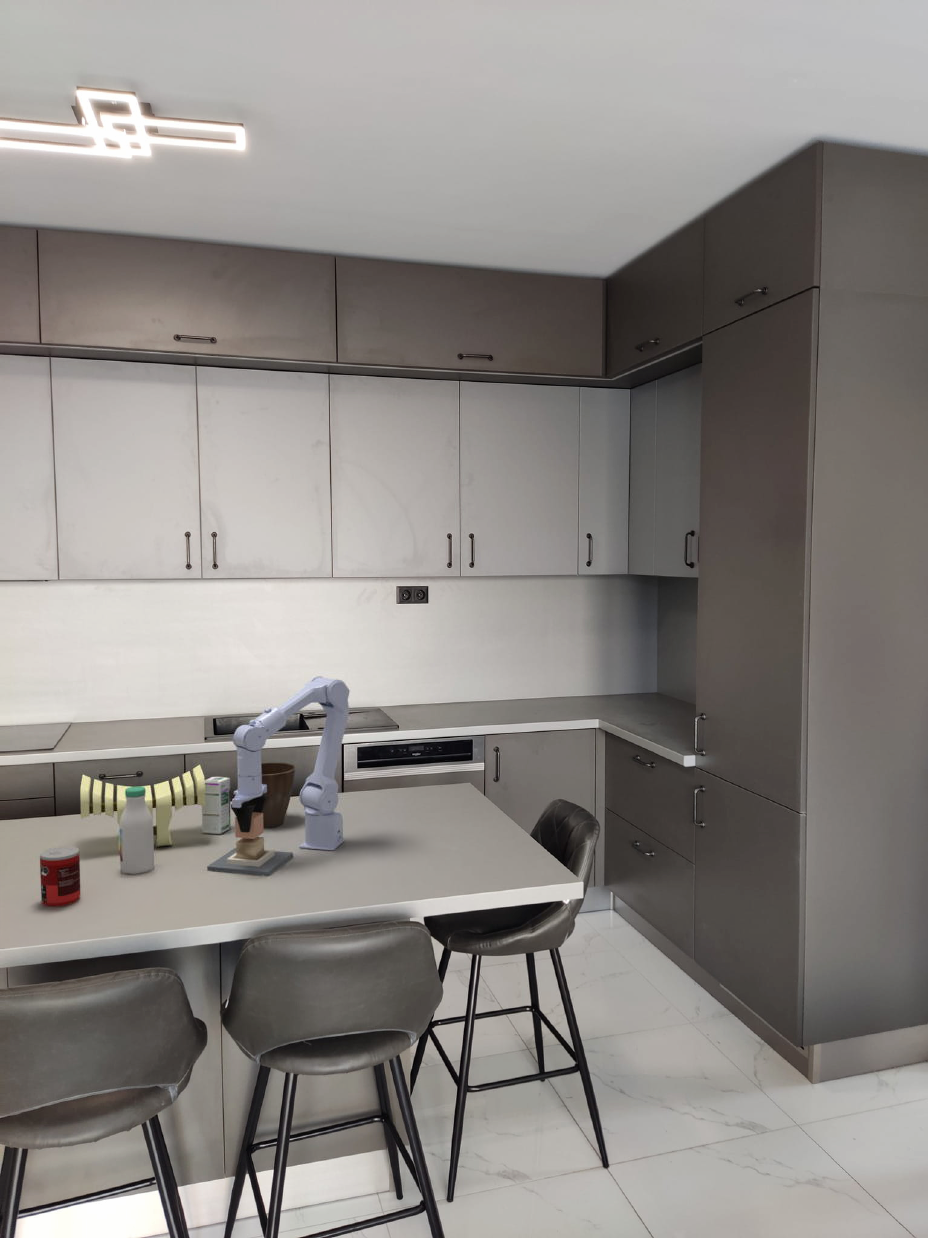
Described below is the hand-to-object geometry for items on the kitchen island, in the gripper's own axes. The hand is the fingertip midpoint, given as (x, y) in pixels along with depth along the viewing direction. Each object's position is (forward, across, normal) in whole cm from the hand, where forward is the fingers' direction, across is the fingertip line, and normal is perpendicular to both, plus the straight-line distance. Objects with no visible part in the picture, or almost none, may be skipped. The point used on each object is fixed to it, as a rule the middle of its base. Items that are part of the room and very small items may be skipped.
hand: (250, 828), depth 216 cm
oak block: (+8, 0, 0) cm, 8 cm away
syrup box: (+9, -21, -21) cm, 31 cm away
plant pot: (+9, -31, -10) cm, 34 cm away
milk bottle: (+9, +10, -25) cm, 28 cm away
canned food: (+9, +31, -30) cm, 44 cm away
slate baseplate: (+9, 0, 0) cm, 9 cm away
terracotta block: (+2, 0, 0) cm, 2 cm away
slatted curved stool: (+9, -8, -35) cm, 37 cm away
